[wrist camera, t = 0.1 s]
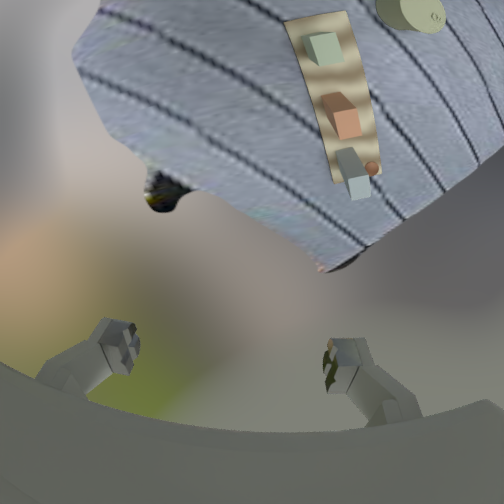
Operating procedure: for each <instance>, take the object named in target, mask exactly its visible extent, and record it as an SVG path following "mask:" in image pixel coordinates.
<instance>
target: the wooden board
mask: <svg viewBox="0 0 504 504" xmlns="http://www.w3.org/2000/svg"><path fill="white" fill-rule="evenodd" d="M284 25H285V28H286V30H287V33H288V35H289V38H290V40H291V43H292V45H293V48H294V51H295V53H296V56H297V59H298V62H299V65H300V67H301V70H302V73H303V76H304V79H305V82H306V85H307V88H308V91H309V94H310V98H311V101H312V104H313V107H314V111H315V114H316V117H317V121H318V124H319V128H320V131H321V135H322V139H323V142H324V146H325V150H326V154H327V158H328V162H329V166H330V170H331V174H332V179H333V182H334V184H337V183H341V182H344V180H343V177H342V175H341V172H340V169H339V165H338V160H337V156H336V152H335V151H337V150H342V149H346V148H351V147H353V148H354V150H355V152H356V153H357V155H358V157H359V159H360V160H361V162H362V164H363V166H364V167H365V169H366V171H367V173H368V175H369V176H374V175H378V174H382V169H381V161H380V153H379V145H378V139H377V132H376V126H375V120H374V115H373V110H372V104H371V100H370V95H369V90H368V86H367V81H366V77H365V73H364V69H363V65H362V61H361V58H360V54H359V51H358V47H357V44H356V40H355V37H354V34H353V31H352V28H351V25H350V22H349V19H348V16H347V13H346V11H340V12H333V13H326V14H320V15H315V16H310V17H305V18H300V19H296V20H291V21H287V22H284ZM316 32H336V35H337V38H338V41H339V44H340V48H341V51H342V54H343V57H344V61H345V62H340V63H335V64H330V65H325V66H320V67H319V66H318V65H317V64H315V63H314V62H313V61H311V60H310V59H309V58H308V55H307V52H306V49H305V46H304V44H303V41H302V38H301V36H302V35H307V34H311V33H316ZM336 92H341V93H342V94H343V95H344V96H345V97H346V98H347V99H348V100H349V101H350V102H351V103H352V104H353V105H354V106H355V107H356V108H357V112H358V116H359V121H360V126H361V131H362V136H357V137H352V138H347V139H343V140H340V139H339V138H338V136H337V134H336V132H335V131H334V129H333V127H332V125H331V124H330V122H329V120H328V118H327V116H326V112H325V108H324V105H323V101H322V98H321V96H322V95H326V94H331V93H336Z"/></svg>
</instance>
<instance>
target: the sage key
mask: <svg viewBox="0 0 504 504" xmlns="http://www.w3.org/2000/svg"><path fill="white" fill-rule="evenodd" d="M301 38H302V41H303V44H304V46H305V49H306V52H307V55H308V58H309V59H310V60H311V61H313V62H314V63H315V64H317V65H318V66H319V67H320V66H325V65H330V64H335V63H340V62H345V61H344V57H343V54H342V51H341V48H340V44H339V41H338V38H337V35H336V32H316V33H311V34H307V35H302V36H301Z"/></svg>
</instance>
